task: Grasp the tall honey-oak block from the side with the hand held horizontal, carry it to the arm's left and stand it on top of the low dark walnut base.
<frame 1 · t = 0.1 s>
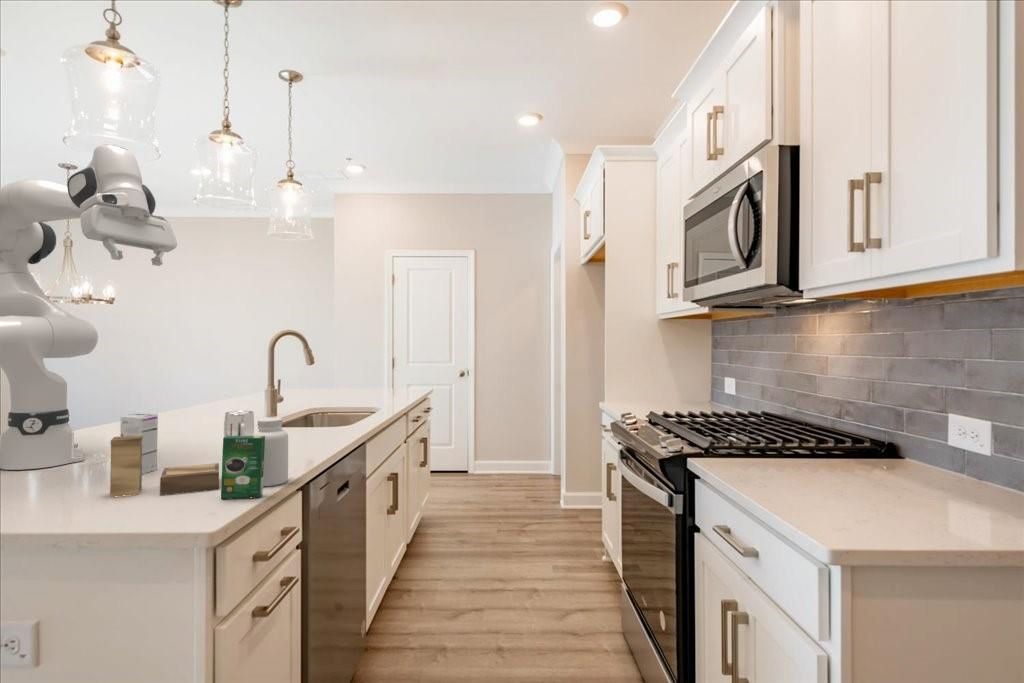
hand: (138, 262, 126), 52 cm above the worktop, tool tilted 20°, fingers open, 8 cm apart
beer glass: (238, 471, 135), on the worktop
pill bottle: (269, 483, 124), on the worktop
walnut base: (191, 486, 120), on the worktop
coffee box: (242, 498, 113), on the worktop
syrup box: (138, 473, 132), on the worktop
oak block: (126, 493, 114), on the worktop
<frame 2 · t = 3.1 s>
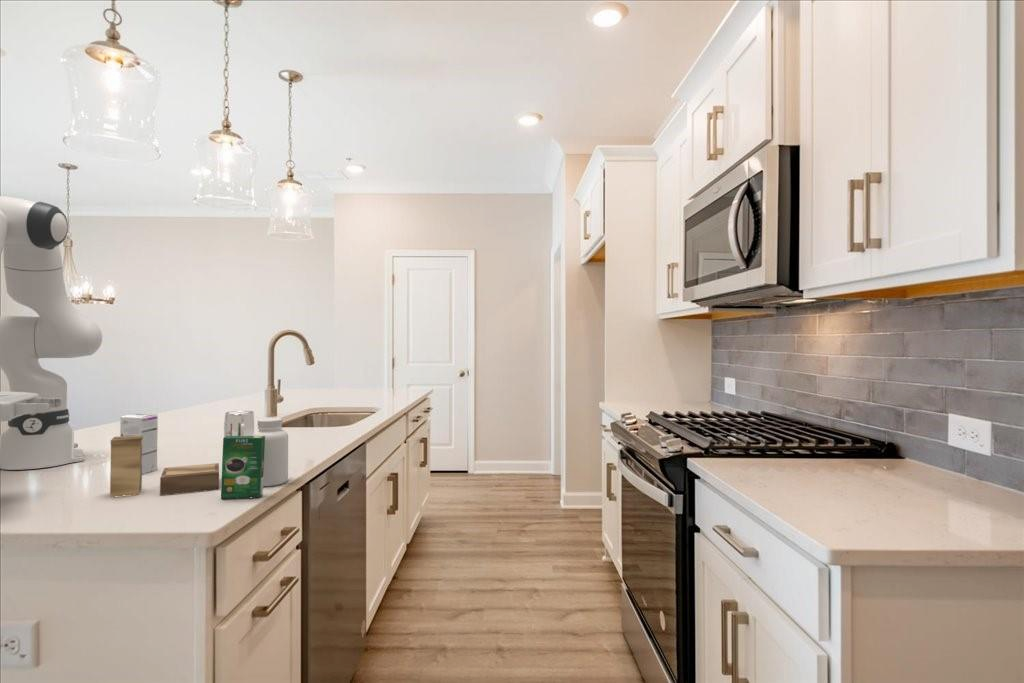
hand: (55, 405, 108), 20 cm above the worktop, tool horizontal, fingers open, 8 cm apart
nothing on the worktop moved.
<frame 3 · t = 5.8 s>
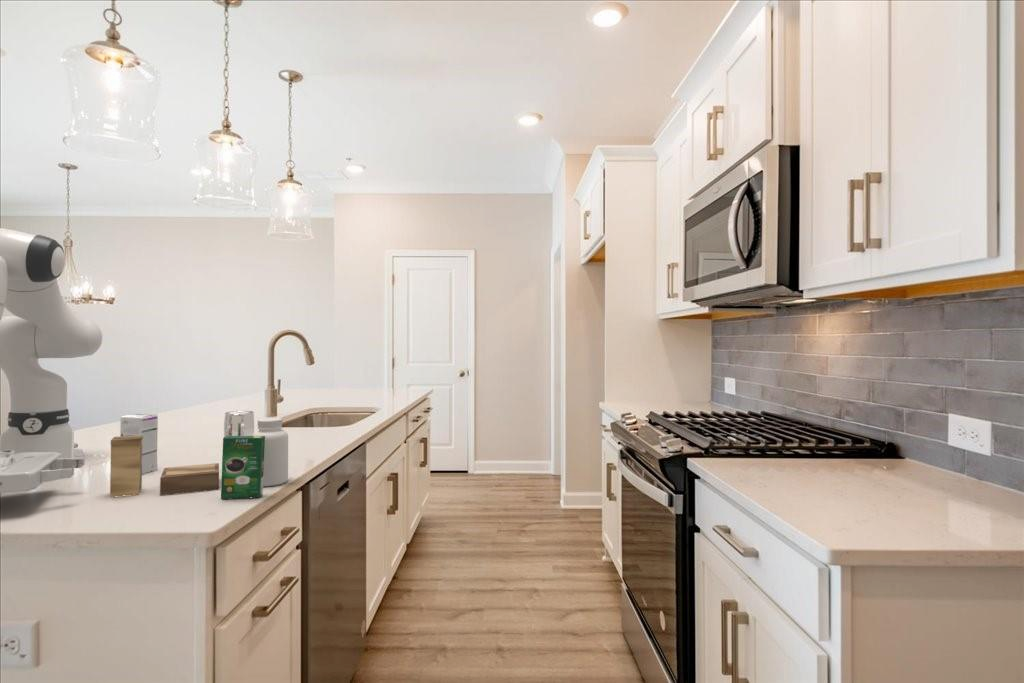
hand: (78, 467, 110), 6 cm above the worktop, tool horizontal, fingers open, 8 cm apart
nothing on the worktop moved.
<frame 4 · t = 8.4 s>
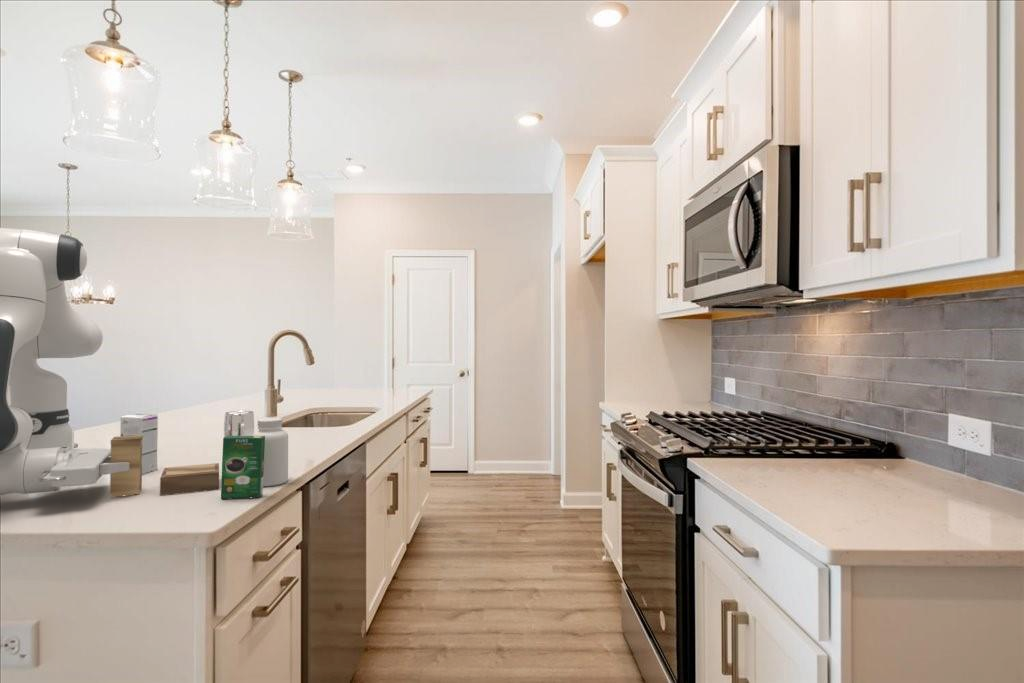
hand: (131, 462, 115), 7 cm above the worktop, tool horizontal, fingers closed on oak block, 4 cm apart
oak block: (126, 493, 114), on the worktop, touching gripper
everything else where it was.
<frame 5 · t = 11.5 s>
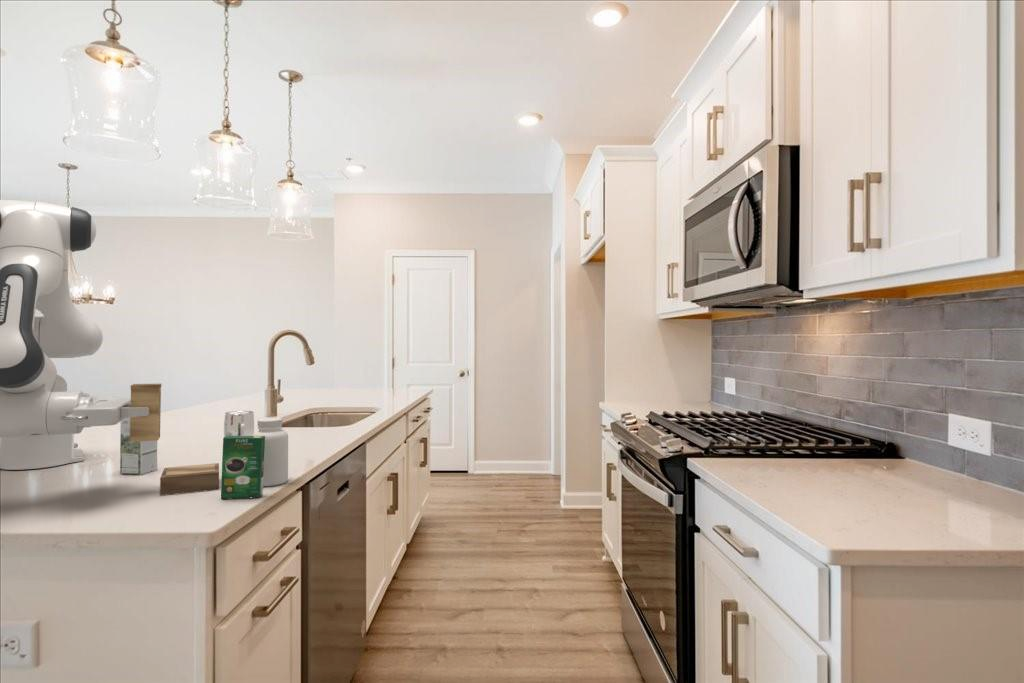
hand: (150, 409, 116), 18 cm above the worktop, tool horizontal, fingers closed on oak block, 4 cm apart
oak block: (145, 439, 116), point 11 cm above the worktop, touching gripper
everything else where it was.
when the fingers open (12 cm above the worktop, at t = 14.7 s): oak block drops 1 cm, resting on walnut base.
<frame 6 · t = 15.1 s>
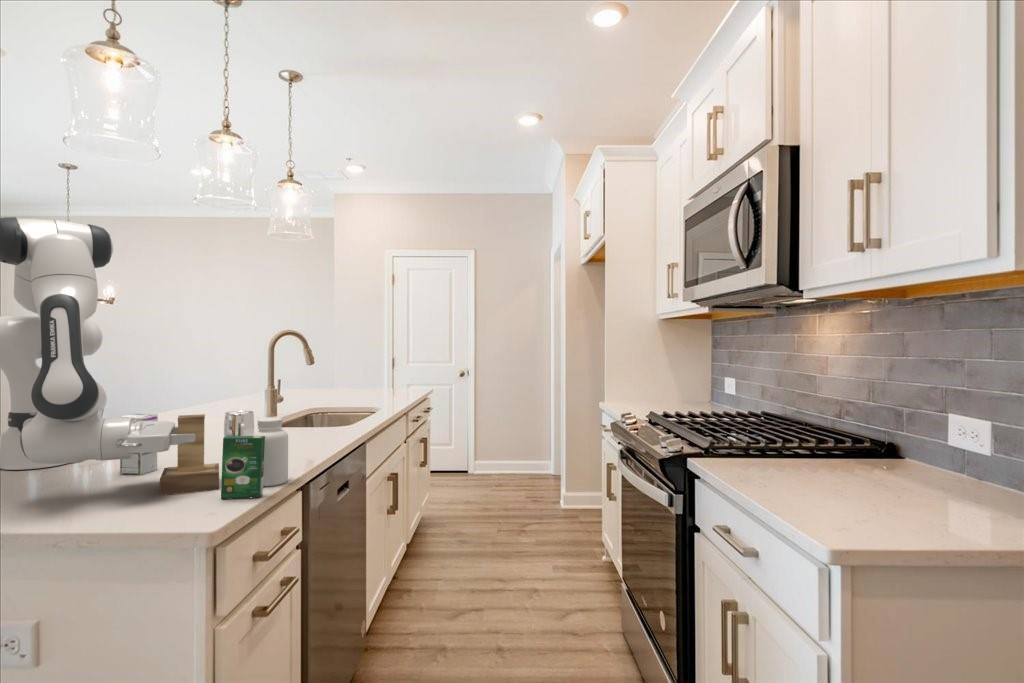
hand: (196, 433, 120), 12 cm above the worktop, tool horizontal, fingers open, 8 cm apart
oak block: (191, 469, 120), point 4 cm above the worktop, touching walnut base
everything else where it was.
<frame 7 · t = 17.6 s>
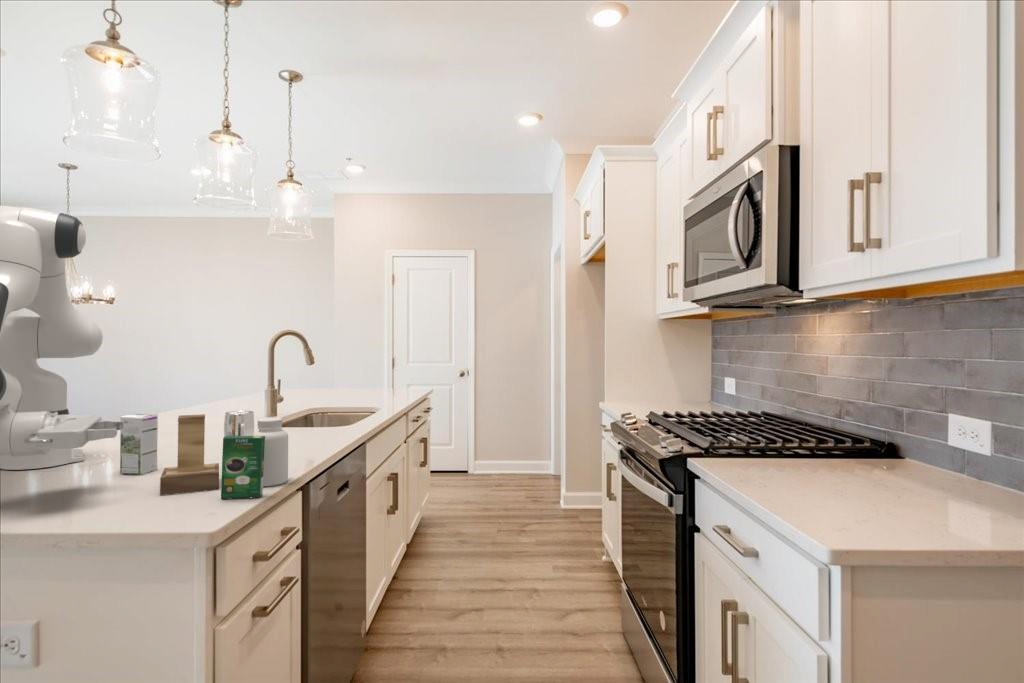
hand: (120, 428, 114), 14 cm above the worktop, tool horizontal, fingers open, 8 cm apart
nothing on the worktop moved.
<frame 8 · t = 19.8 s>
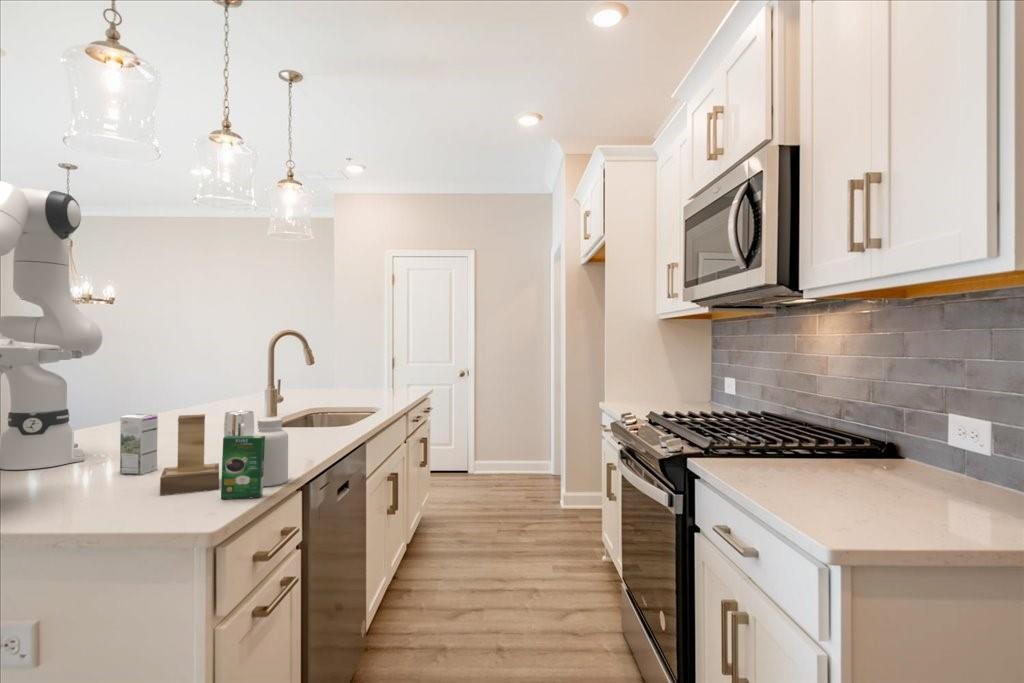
hand: (77, 354, 111), 30 cm above the worktop, tool horizontal, fingers open, 8 cm apart
nothing on the worktop moved.
at the end: oak block inside the target area on the walnut base (0.1 cm from its centre), point 4.0 cm above the walnut base's base; oak block tilted 0°; the gripper is holding nothing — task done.
